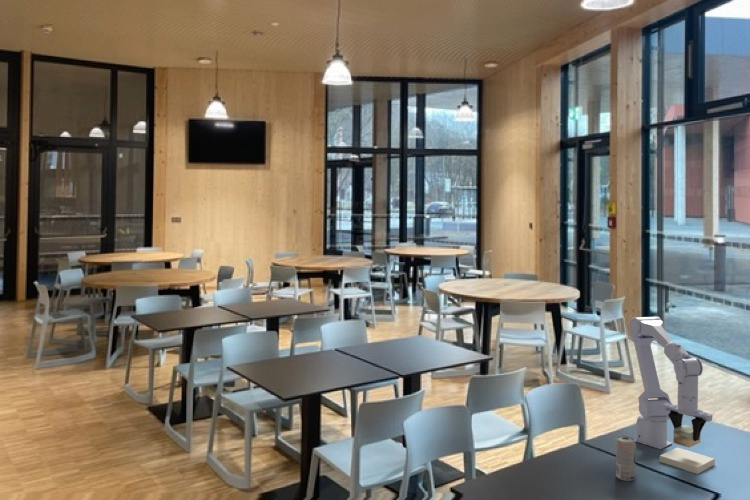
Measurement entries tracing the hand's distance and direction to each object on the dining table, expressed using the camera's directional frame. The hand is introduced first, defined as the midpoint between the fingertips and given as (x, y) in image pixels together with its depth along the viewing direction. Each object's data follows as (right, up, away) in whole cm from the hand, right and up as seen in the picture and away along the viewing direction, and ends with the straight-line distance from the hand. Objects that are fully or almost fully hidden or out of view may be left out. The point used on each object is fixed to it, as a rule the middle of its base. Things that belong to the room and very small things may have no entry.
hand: (687, 437), depth 195 cm
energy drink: (-24, -10, -9) cm, 27 cm away
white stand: (0, -8, +1) cm, 8 cm away
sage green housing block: (0, -2, 0) cm, 2 cm away
